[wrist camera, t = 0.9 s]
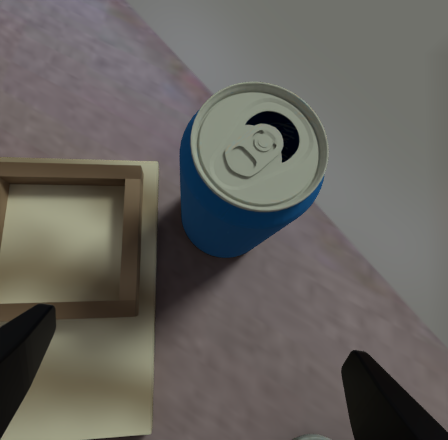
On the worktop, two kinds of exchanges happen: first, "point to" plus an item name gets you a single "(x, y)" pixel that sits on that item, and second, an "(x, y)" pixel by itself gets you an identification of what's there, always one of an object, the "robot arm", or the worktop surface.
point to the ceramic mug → (311, 437)
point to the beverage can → (249, 166)
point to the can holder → (83, 291)
